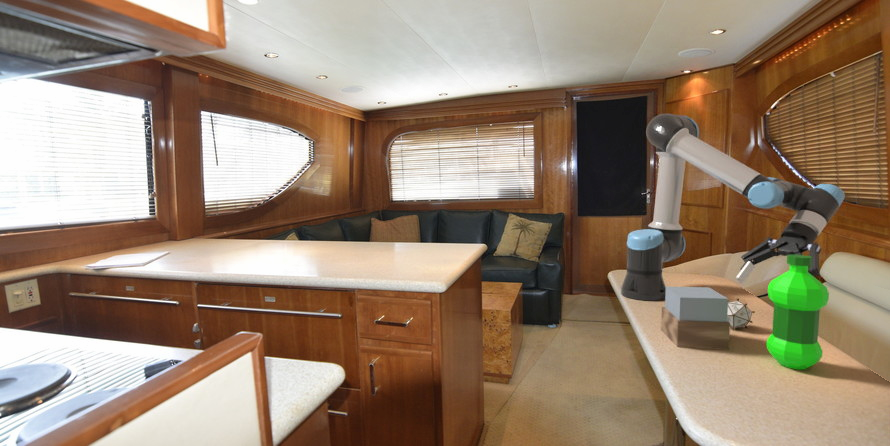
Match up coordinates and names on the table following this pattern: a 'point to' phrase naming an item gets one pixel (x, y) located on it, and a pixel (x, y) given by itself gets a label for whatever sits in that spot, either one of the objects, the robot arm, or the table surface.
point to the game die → (738, 314)
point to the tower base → (695, 332)
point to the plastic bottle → (796, 315)
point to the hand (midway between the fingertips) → (761, 285)
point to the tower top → (696, 304)
